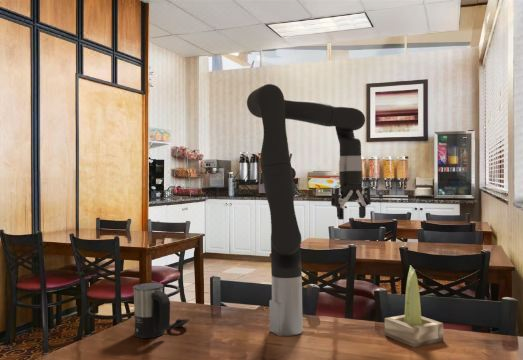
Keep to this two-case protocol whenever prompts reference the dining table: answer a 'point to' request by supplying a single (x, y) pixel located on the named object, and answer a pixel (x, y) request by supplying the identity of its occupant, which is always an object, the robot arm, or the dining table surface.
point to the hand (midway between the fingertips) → (351, 218)
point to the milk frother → (152, 311)
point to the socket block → (414, 331)
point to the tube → (412, 300)
